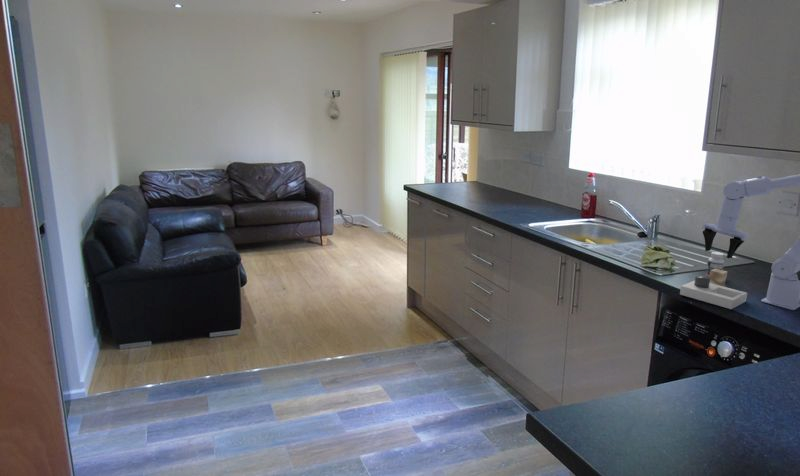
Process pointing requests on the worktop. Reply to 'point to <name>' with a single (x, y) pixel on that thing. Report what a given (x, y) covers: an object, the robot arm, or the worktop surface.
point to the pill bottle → (715, 262)
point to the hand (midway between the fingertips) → (718, 254)
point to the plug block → (718, 277)
